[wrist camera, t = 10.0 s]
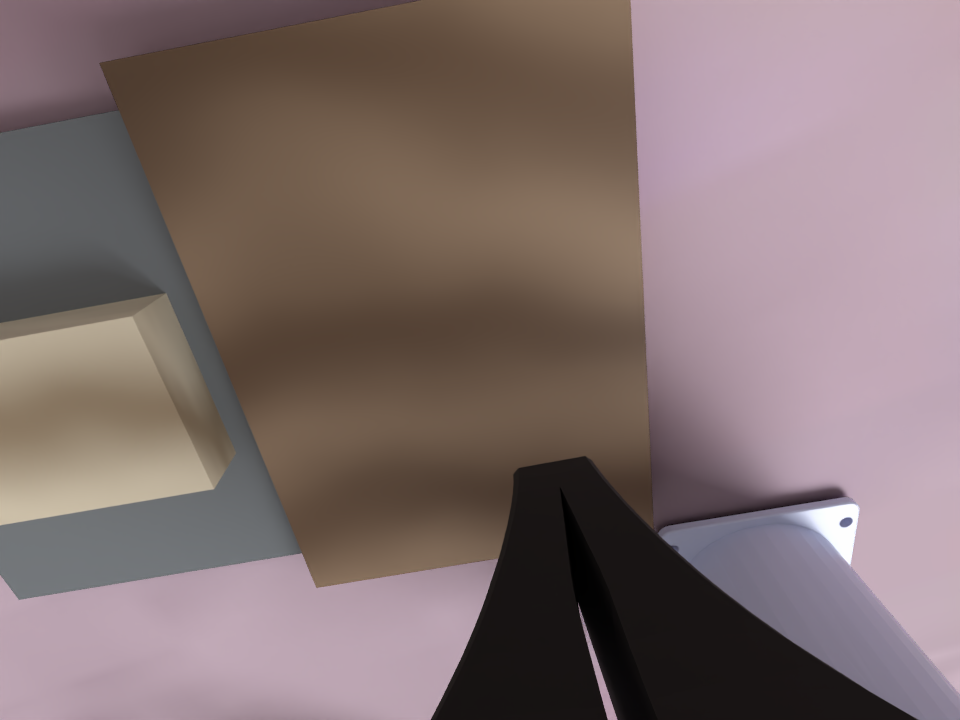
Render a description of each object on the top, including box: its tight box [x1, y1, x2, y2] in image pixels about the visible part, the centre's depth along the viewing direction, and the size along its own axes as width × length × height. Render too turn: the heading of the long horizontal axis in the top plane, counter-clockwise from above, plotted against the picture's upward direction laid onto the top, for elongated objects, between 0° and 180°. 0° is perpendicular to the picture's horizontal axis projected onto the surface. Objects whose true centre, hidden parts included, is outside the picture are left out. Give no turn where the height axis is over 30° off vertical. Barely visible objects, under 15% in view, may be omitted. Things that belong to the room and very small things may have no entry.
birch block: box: [0, 293, 236, 525], centre depth 18 cm, size 6×10×2 cm, turn 100°
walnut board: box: [100, 0, 654, 588], centre depth 18 cm, size 18×13×2 cm
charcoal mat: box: [0, 110, 302, 600], centre depth 19 cm, size 16×12×1 cm
